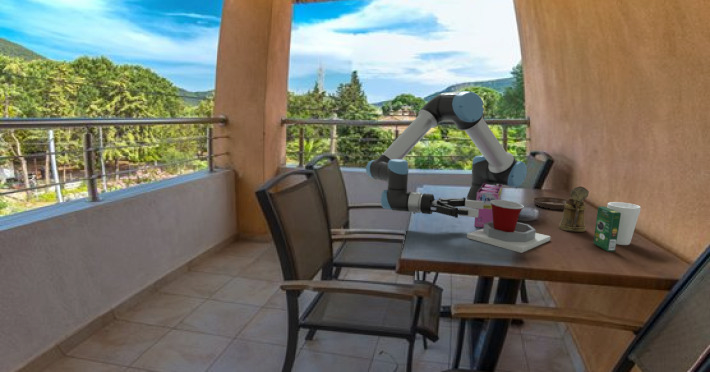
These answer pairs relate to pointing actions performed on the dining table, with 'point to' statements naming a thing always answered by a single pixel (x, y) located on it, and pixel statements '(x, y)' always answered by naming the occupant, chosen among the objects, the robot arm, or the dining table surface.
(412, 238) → the dining table surface
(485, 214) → the gum box
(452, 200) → the robot arm
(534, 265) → the dining table surface
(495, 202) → the plastic cup
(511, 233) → the cup holder
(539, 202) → the plant saucer
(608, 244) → the coffee box
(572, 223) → the wooden mug
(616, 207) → the foam cup
